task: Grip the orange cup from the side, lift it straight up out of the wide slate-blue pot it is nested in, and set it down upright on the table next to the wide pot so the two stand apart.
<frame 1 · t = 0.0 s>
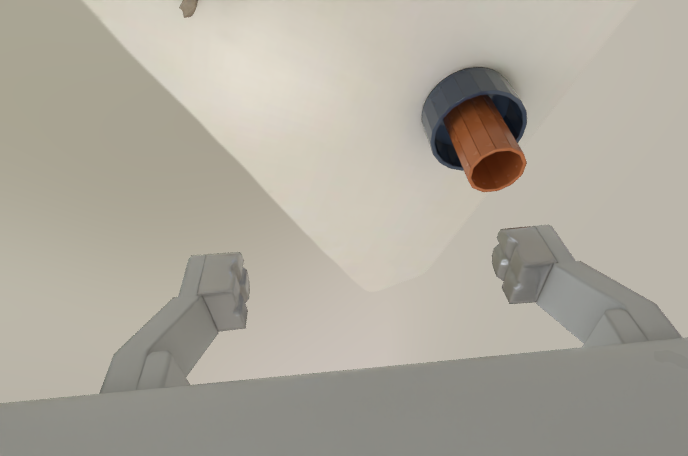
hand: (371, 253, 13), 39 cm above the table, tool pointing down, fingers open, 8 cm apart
orange cup: (467, 111, 55), point 1 cm above the table, touching wide pot
wide pot: (465, 109, 55), on the table, touching orange cup
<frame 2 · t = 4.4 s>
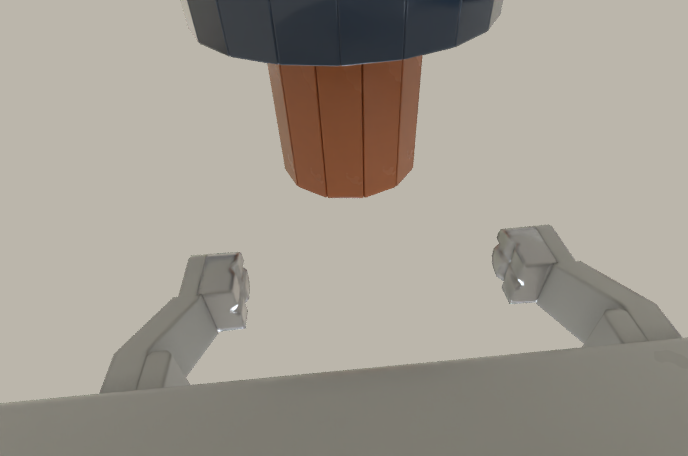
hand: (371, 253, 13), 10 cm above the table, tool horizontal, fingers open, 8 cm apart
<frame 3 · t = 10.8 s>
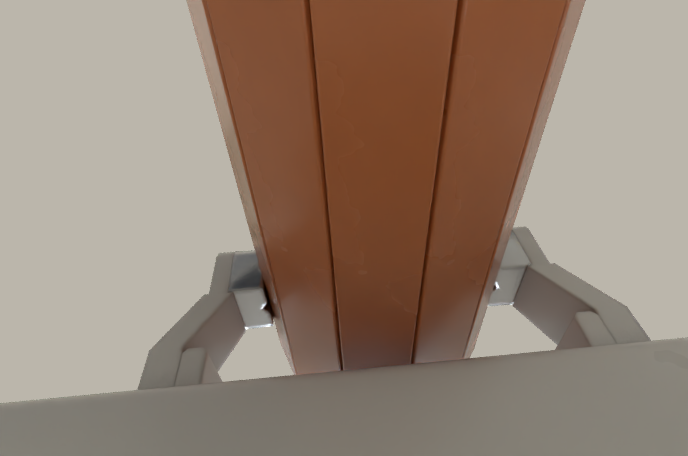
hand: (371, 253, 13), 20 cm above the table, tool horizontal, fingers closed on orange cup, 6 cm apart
when the fingers open (9 cm above the table, at t = 14.7 s): orange cup stays where it is, on the table.
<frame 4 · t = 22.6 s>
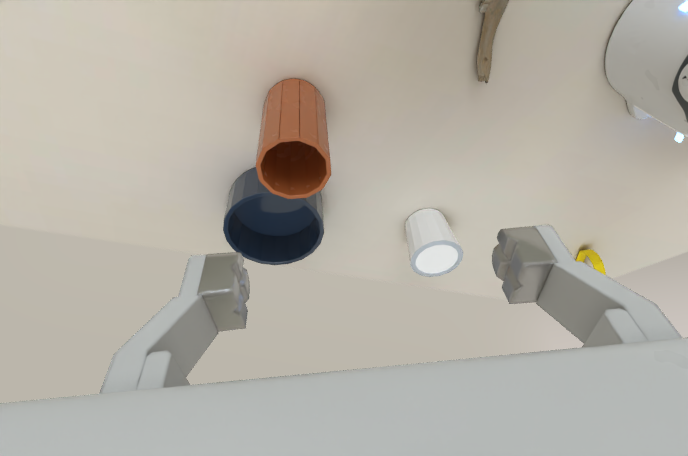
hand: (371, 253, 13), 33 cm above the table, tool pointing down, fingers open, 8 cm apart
orange cup: (295, 106, 45), on the table
white cylinder: (424, 222, 58), on the table
watch: (579, 255, 66), on the table
wide pot: (276, 202, 53), on the table
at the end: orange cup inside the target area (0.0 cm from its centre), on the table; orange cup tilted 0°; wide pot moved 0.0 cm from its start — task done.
